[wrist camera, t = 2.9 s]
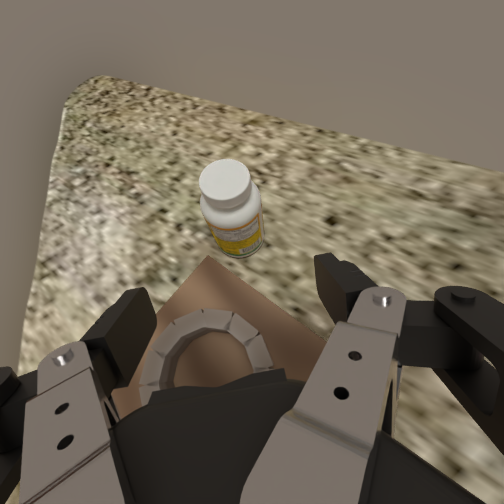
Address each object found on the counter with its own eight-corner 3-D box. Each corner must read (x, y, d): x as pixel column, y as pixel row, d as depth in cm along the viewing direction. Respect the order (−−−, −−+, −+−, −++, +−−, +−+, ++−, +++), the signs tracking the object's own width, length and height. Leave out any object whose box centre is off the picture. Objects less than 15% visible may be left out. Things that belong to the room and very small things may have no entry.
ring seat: (210, 258, 27) (199, 242, 24) (344, 357, 22) (357, 355, 18) (94, 391, 23) (59, 396, 19) (228, 551, 18) (215, 599, 14)
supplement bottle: (256, 264, 26) (247, 215, 18) (209, 252, 27) (178, 200, 19) (270, 220, 28) (267, 157, 20) (225, 211, 29) (204, 147, 21)
